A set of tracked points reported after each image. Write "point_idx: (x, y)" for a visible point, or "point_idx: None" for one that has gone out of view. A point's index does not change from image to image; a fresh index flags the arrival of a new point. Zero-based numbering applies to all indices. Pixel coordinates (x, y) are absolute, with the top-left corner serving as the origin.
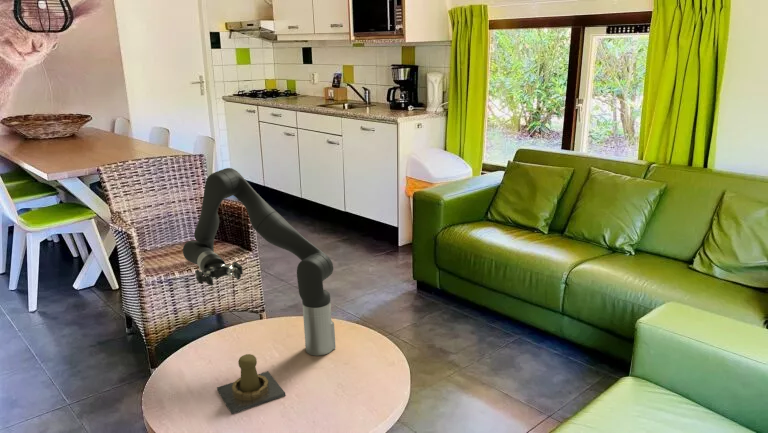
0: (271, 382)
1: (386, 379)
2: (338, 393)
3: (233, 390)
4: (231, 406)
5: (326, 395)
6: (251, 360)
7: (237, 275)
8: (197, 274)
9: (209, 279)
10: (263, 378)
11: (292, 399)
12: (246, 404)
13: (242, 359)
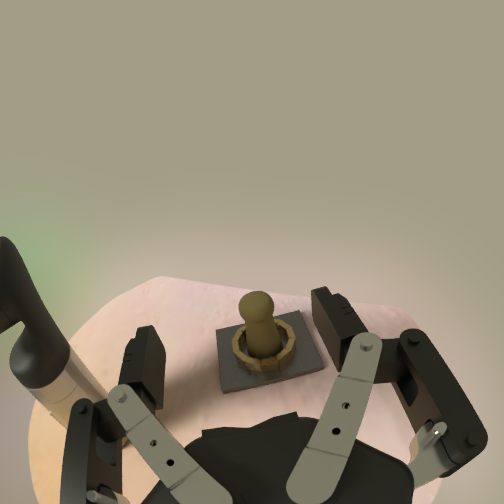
0: (226, 357)
1: (98, 326)
2: (155, 320)
3: (292, 330)
4: (298, 318)
5: (169, 321)
6: (248, 293)
7: (155, 330)
8: (441, 362)
9: (332, 301)
10: (237, 348)
11: (211, 324)
12: (276, 318)
13: (264, 294)
